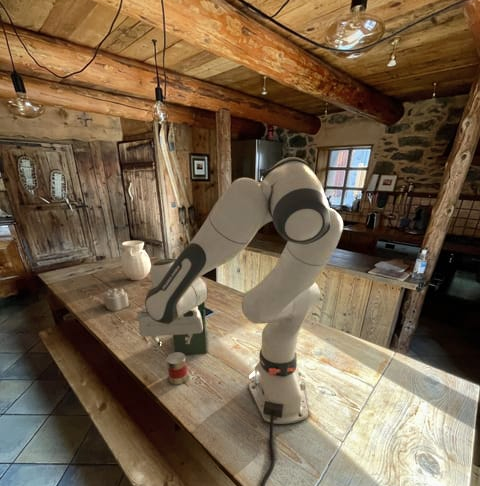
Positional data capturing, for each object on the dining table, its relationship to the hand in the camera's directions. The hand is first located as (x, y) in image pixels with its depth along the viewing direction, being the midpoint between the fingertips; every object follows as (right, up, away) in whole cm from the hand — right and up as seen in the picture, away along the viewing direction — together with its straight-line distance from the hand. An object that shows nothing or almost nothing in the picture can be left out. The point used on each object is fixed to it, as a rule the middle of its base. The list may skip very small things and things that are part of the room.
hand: (173, 343), depth 90 cm
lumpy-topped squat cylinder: (-46, +9, +58) cm, 75 cm away
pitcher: (-48, +26, +95) cm, 110 cm away
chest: (+2, -5, +26) cm, 26 cm away
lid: (+1, +16, +22) cm, 27 cm away
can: (0, -14, +6) cm, 15 cm away
